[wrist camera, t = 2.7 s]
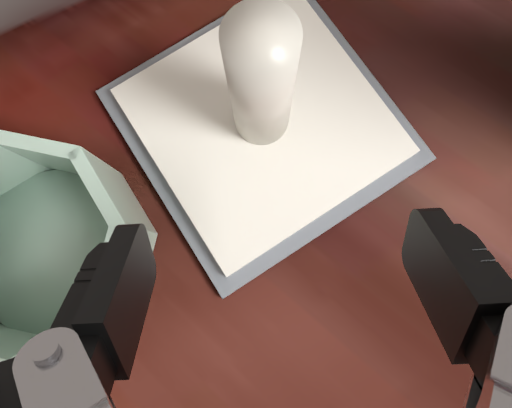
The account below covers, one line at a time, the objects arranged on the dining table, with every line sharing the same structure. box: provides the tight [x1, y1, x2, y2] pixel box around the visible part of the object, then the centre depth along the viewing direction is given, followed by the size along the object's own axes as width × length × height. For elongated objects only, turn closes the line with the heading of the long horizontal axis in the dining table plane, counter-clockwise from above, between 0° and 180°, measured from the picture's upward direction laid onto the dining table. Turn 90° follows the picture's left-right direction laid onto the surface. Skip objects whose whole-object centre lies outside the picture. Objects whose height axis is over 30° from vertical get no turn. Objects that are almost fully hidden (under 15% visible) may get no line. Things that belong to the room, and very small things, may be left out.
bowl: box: [0, 130, 158, 362], centre depth 22 cm, size 12×12×6 cm
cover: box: [110, 0, 420, 277], centre depth 21 cm, size 15×15×10 cm
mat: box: [96, 0, 436, 299], centre depth 26 cm, size 17×17×1 cm
